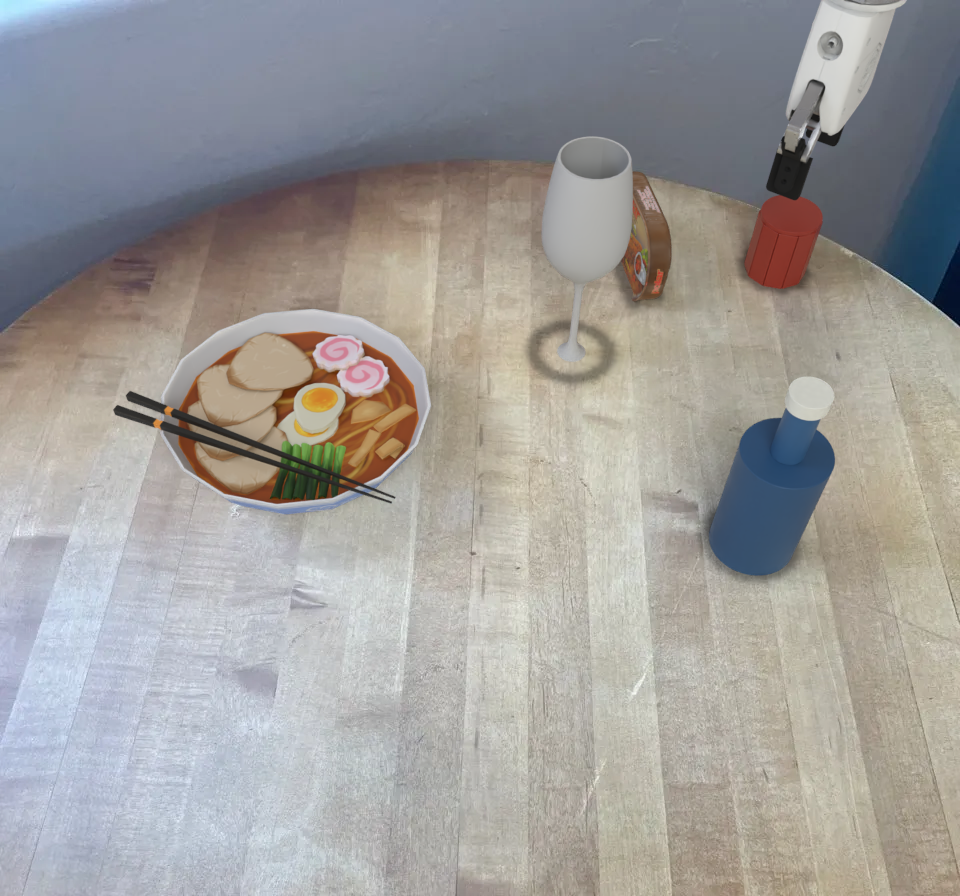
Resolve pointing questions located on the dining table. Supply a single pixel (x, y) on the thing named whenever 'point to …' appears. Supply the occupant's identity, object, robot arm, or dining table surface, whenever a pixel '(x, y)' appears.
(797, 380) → the water bottle
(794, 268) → the red grooved cylinder
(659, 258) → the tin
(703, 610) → the dining table surface
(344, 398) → the ramen bowl
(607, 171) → the wineglass
